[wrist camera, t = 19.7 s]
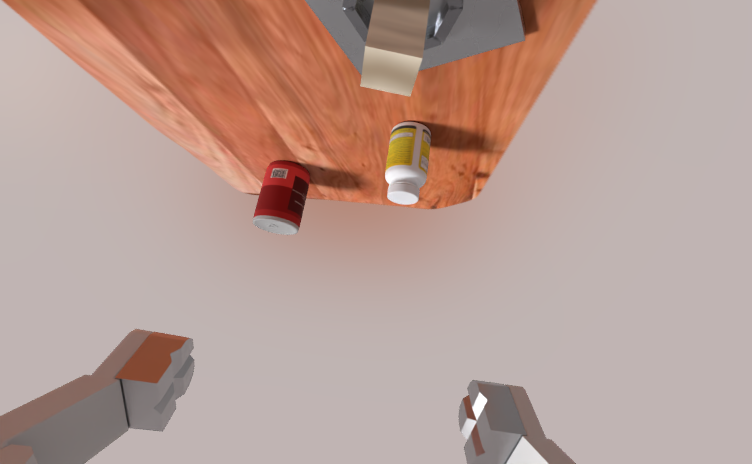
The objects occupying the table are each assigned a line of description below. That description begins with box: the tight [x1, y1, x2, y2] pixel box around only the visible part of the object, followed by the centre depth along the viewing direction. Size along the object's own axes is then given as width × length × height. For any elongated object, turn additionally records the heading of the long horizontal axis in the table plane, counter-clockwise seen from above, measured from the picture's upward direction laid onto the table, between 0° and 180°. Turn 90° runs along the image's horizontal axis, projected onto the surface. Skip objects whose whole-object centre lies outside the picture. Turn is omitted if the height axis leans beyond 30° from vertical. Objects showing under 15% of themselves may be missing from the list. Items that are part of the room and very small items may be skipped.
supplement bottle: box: [385, 122, 431, 205], centre depth 47 cm, size 5×5×10 cm
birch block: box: [360, 0, 430, 96], centre depth 28 cm, size 4×4×8 cm
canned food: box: [253, 161, 310, 235], centre depth 63 cm, size 8×8×11 cm
